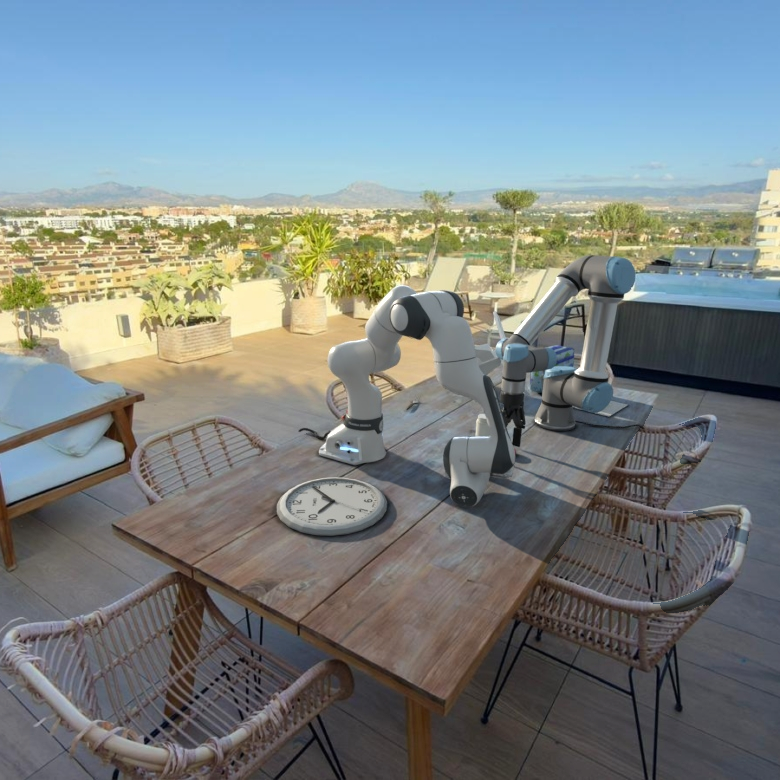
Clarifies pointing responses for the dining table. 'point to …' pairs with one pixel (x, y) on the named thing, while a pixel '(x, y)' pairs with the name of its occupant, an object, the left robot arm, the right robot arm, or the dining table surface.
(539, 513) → the dining table surface
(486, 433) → the jar
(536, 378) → the lunch box
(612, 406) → the invitation card
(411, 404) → the fork
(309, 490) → the wall clock
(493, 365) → the white plastic object
